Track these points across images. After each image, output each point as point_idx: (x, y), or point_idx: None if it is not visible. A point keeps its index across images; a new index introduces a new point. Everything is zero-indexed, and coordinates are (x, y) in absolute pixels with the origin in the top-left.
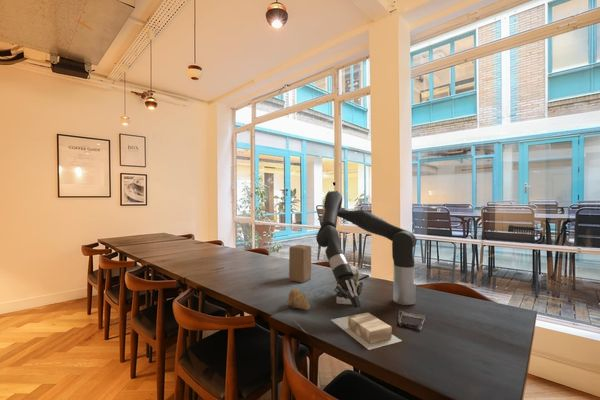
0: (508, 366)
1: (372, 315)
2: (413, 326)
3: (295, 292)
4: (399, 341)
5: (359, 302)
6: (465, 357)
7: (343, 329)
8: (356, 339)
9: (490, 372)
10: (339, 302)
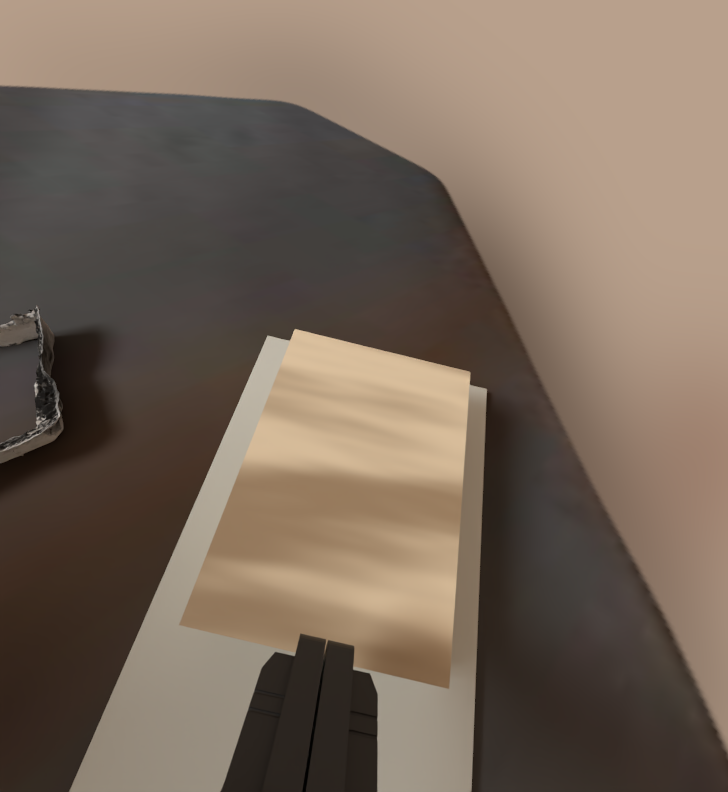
0: (153, 109)
1: (217, 535)
2: (42, 352)
3: None
4: (286, 340)
5: (268, 689)
6: (192, 174)
7: (471, 678)
8: (478, 495)
9: (233, 131)
10: None
